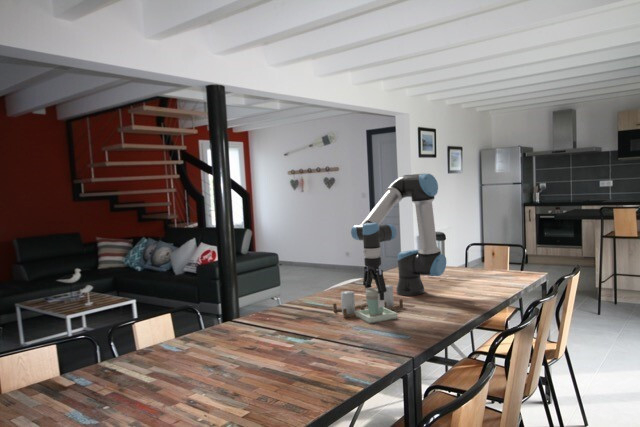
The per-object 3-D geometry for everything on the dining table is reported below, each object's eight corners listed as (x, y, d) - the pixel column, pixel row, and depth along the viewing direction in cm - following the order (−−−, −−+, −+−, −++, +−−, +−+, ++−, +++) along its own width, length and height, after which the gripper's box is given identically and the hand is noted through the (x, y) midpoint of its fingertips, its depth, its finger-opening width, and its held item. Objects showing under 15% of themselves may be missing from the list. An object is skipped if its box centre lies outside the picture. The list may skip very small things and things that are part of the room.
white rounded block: (389, 304, 242) (388, 284, 241) (396, 306, 236) (394, 286, 235) (378, 305, 239) (377, 286, 239) (384, 308, 233) (383, 288, 233)
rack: (389, 301, 246) (389, 294, 245) (403, 307, 233) (403, 299, 233) (333, 311, 235) (332, 303, 234) (344, 318, 222) (343, 309, 222)
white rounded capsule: (351, 310, 234) (350, 290, 234) (357, 313, 228) (356, 292, 228) (340, 312, 232) (338, 292, 231) (345, 315, 226) (344, 294, 225)
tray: (382, 311, 229) (382, 306, 228) (397, 318, 216) (396, 312, 215) (355, 316, 224) (355, 310, 224) (369, 323, 211) (369, 317, 210)
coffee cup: (379, 319, 214) (377, 292, 213) (363, 317, 219) (361, 291, 218) (388, 314, 220) (387, 288, 220) (373, 312, 226) (371, 287, 225)
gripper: (354, 254, 228) (356, 300, 229) (377, 261, 206) (380, 311, 207) (368, 253, 230) (370, 297, 232) (392, 259, 208) (395, 308, 210)
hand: (375, 304), depth 219 cm, fingers open, 11 cm apart
